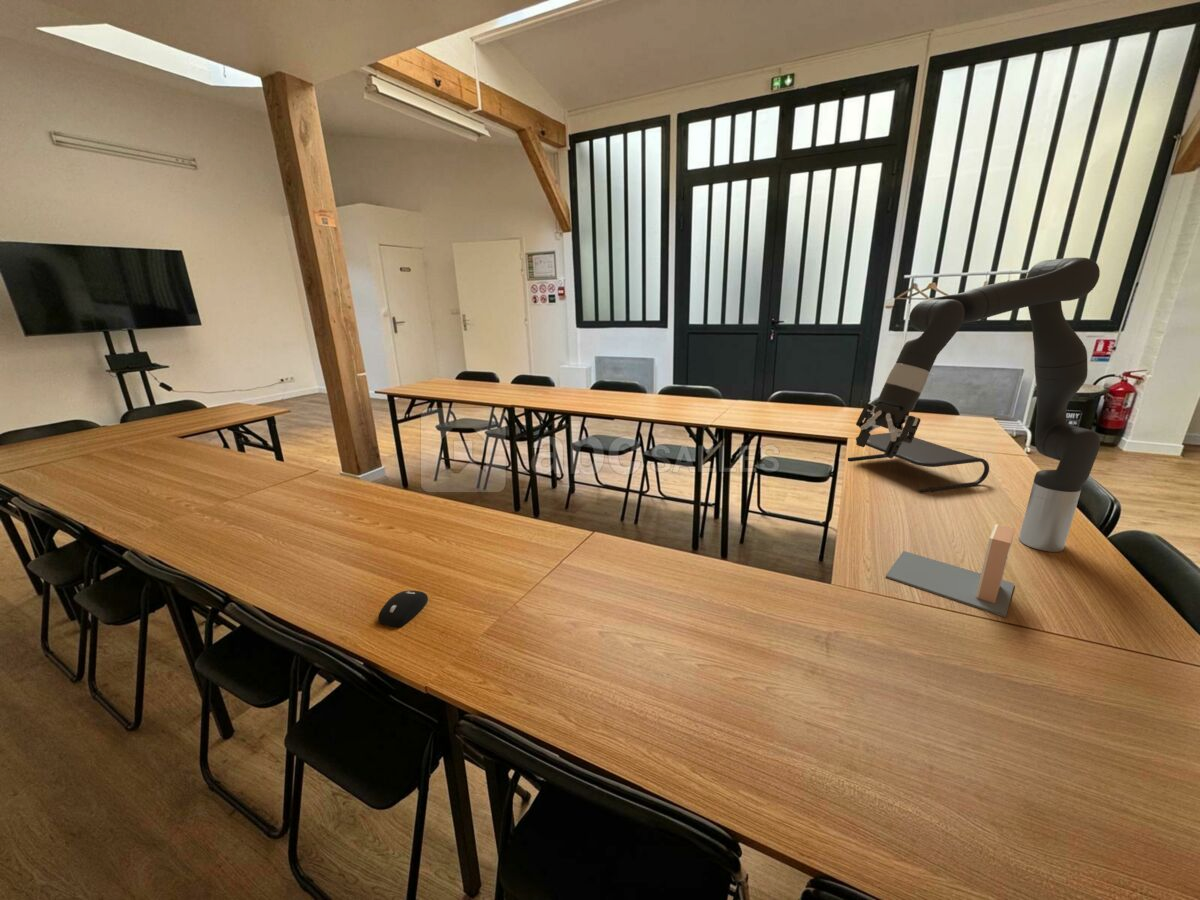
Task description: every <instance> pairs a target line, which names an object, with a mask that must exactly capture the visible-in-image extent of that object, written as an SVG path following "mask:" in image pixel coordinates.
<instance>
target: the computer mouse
mask: <svg viewBox="0 0 1200 900" xmlns="http://www.w3.org/2000/svg"><path fill="white" fill-rule="evenodd" d="M427 603H428V595H427V594H426V592H424V591H419V590H405V591H404V590H403V591H400V592H397V593H396V594H394V595H393V596H391V597H390V598H389V599H388V600H387V601H386V602H385V603H384V605H383V607H382V608H381V610H380V611H379V613H378V617H377V618H378V620H377V621H378V623H379V624H381V625H384V626H388V627H393V628H401V627H403V626H405V625H406V624H407V623H410V621H411V620H412V619H413V618H415V617H416V616H417V615H418V614H419V612H421V611H422V610H423V608H424V607H425V606H426V604H427Z"/></svg>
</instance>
